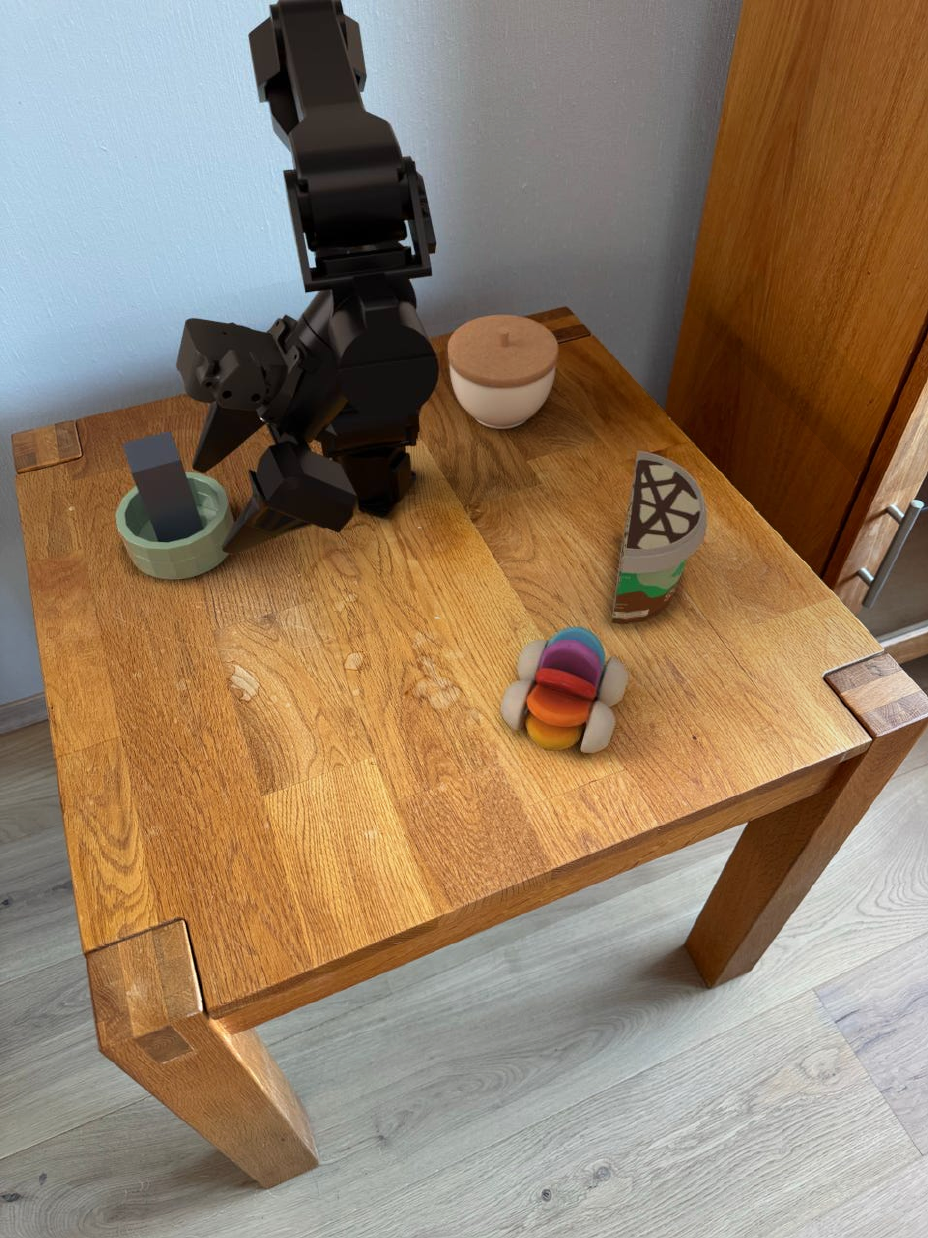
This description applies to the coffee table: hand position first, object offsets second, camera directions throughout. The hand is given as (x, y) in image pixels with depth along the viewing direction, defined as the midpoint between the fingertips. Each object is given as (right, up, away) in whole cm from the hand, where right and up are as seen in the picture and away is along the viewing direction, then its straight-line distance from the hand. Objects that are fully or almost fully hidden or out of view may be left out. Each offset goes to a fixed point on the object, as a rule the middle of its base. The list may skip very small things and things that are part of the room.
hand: (211, 509), depth 66 cm
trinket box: (+22, +14, +28) cm, 38 cm away
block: (-7, 0, +17) cm, 18 cm away
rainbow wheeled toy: (+26, -15, +5) cm, 31 cm away
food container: (+35, -5, +13) cm, 37 cm away
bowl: (-7, -1, +17) cm, 18 cm away
